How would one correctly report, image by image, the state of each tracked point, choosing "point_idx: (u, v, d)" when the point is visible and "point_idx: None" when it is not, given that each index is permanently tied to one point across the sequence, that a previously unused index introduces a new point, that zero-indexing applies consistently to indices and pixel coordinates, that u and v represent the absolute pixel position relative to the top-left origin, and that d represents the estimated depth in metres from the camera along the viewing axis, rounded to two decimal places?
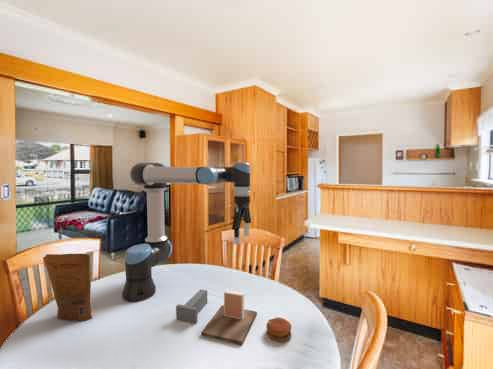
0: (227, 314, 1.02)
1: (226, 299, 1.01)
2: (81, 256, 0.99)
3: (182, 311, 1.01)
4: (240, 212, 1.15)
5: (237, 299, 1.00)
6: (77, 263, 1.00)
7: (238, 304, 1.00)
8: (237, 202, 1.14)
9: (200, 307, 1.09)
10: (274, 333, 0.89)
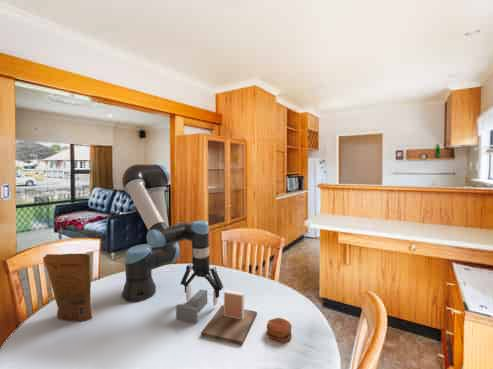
0: (227, 314, 1.02)
1: (226, 299, 1.01)
2: (81, 256, 0.99)
3: (182, 311, 1.01)
4: None
5: (237, 299, 1.00)
6: (77, 263, 1.00)
7: (238, 304, 1.00)
8: None
9: (200, 307, 1.09)
10: (274, 334, 0.89)
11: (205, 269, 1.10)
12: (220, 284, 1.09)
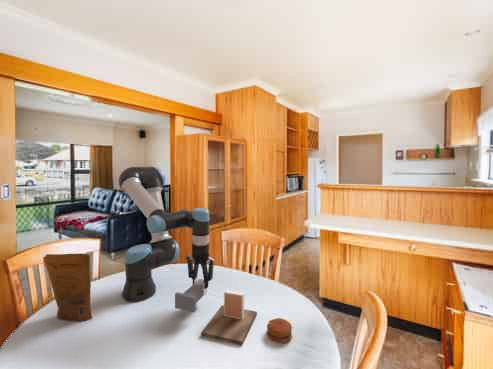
0: (227, 314, 1.02)
1: (226, 299, 1.01)
2: (81, 256, 0.99)
3: (181, 299, 1.01)
4: None
5: (237, 299, 1.00)
6: (77, 263, 1.00)
7: (238, 304, 1.00)
8: None
9: (199, 296, 1.09)
10: (274, 334, 0.89)
11: (205, 256, 1.09)
12: (211, 276, 1.10)
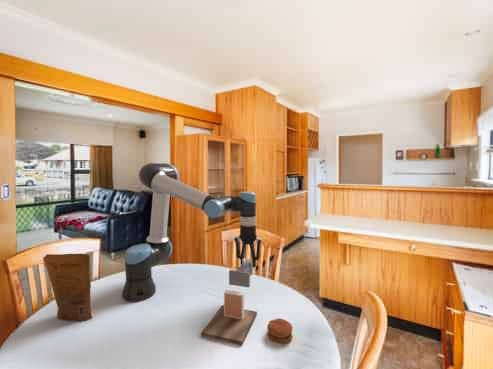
0: (227, 314, 1.02)
1: (226, 299, 1.01)
2: (81, 256, 0.99)
3: (235, 275, 1.06)
4: None
5: (237, 299, 1.00)
6: (77, 263, 1.00)
7: (238, 304, 1.00)
8: None
9: None
10: (274, 334, 0.88)
11: (253, 236, 1.15)
12: (259, 255, 1.16)
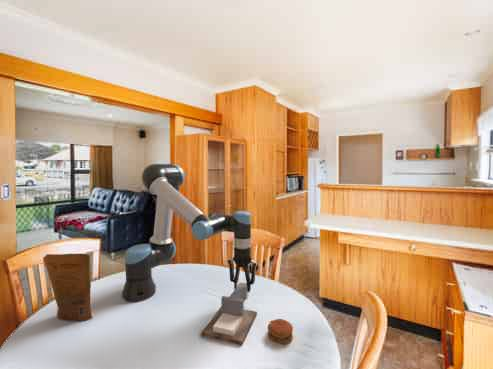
0: None
1: None
2: (81, 256, 0.99)
3: (228, 302, 0.99)
4: (236, 262, 1.11)
5: None
6: (77, 263, 1.00)
7: None
8: None
9: (243, 300, 1.08)
10: (275, 335, 0.88)
11: (247, 259, 1.09)
12: (254, 279, 1.09)
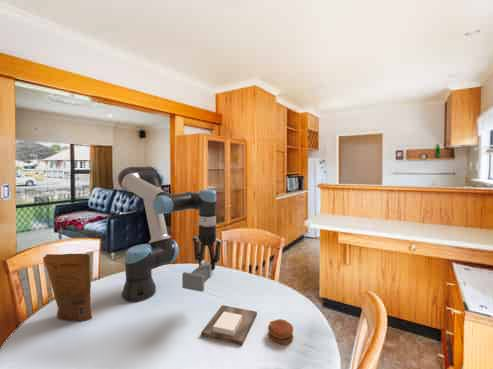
0: None
1: None
2: (81, 256, 0.99)
3: (189, 278, 0.99)
4: None
5: None
6: (77, 263, 1.00)
7: None
8: None
9: (206, 277, 1.08)
10: (275, 335, 0.88)
11: (212, 238, 1.08)
12: (218, 257, 1.09)
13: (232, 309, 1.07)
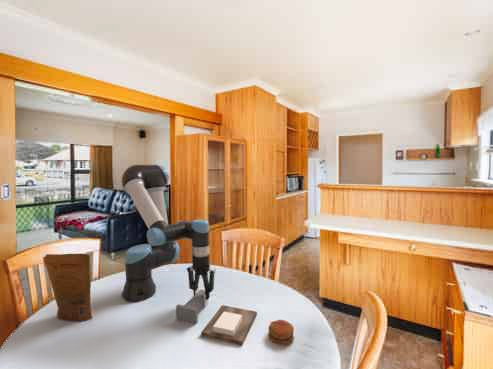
0: None
1: None
2: (81, 256, 0.99)
3: (182, 311, 1.00)
4: None
5: None
6: (77, 263, 1.00)
7: None
8: None
9: (200, 307, 1.08)
10: (276, 336, 0.88)
11: (205, 267, 1.10)
12: (212, 287, 1.10)
13: (232, 309, 1.07)
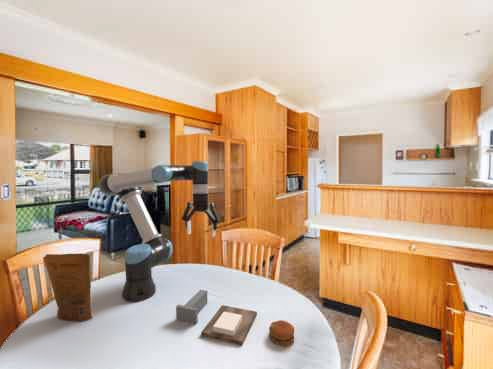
0: None
1: None
2: (81, 256, 0.99)
3: (182, 311, 1.00)
4: None
5: None
6: (77, 263, 1.00)
7: None
8: None
9: (201, 307, 1.08)
10: (276, 337, 0.87)
11: (204, 204, 1.21)
12: (218, 217, 1.20)
13: (232, 309, 1.07)
